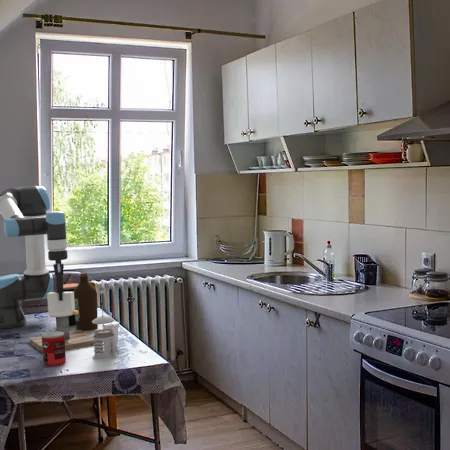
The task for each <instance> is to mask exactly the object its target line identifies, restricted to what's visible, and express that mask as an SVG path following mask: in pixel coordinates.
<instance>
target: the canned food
mask: <svg viewBox="0 0 450 450" xmlns="http://www.w3.org/2000/svg"><path fill="white" fill-rule="evenodd" d="M41 336H42V349H43V352H42V359H43V360H42V361H43V362H42V363H43V365H44V366H45V367H58V366H62V365H65V364H66V361H67V359H66V358H67V356H66V355H67V353H66V350H65V337H64V332H60V331H57V330H55V331H48V332H44V333H42V334H41Z"/></svg>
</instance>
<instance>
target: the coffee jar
mask: <svg viewBox="0 0 450 450" xmlns="http://www.w3.org/2000/svg"><path fill="white" fill-rule="evenodd" d="M78 284H79V283H66V284H64V283H63V287H65V289H64V292H74V289H75V288H76V287H77V285H78ZM68 318H69V327H73V326H76V320H75V314H73V315H70V316H68Z"/></svg>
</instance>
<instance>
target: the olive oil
mask: <svg viewBox="0 0 450 450" xmlns="http://www.w3.org/2000/svg"><path fill="white" fill-rule="evenodd" d="M88 276H89V275H88V272H81V273H79V279H80V282H79V283H77V284H78V285H77V287H76V288H75V289H74V302H75V310H78V314H75V320H76V325H75V329H76V330H82V331H84V332H87V331H93V330H96V329H97V330H98V327H99V324H93V323H92V321H93V320H94V319H96V318H98V292H97V291H98V290H97V289H96V287H95V286H94V285H93V284H91V282H90V281H89V277H88Z"/></svg>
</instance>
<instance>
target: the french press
mask: <svg viewBox="0 0 450 450" xmlns="http://www.w3.org/2000/svg"><path fill="white" fill-rule="evenodd" d="M98 294H99V295H100V296H101V297H100V299H101V300H100V301H101V302H103V295H104V294H105V291H104V290H99V291H98ZM103 309H104V308H103V306H101V312H102V313H101V314H102V315H101V316H97V318H96V319H94V320H93V321H92V323H93V324H98V325H102V329H101V328H100V329H97V330H96V329H95V331H94V332H93V333H94V335H92V336H93V339H94V342H95V343H94V345H93V346H94V347H93V351H94V355H93V356H92V357H91V359H92V360H94V361H97V362H99V361H100V362H103V361H111V360H114V359H116V358H118V357H119V354H118V353H117V351H116V348H115V344H116V343H115V335H114V332H113V330H112V328H111V327H110V326H108V329H104V324H107V323H111V322H115V319H114V318H113V317H112V318H111V317H109V316H105V315H104V311H103ZM112 326H113V325H112ZM109 327H110V328H111V329H109ZM113 327H114V328H115V326H113ZM115 329H116V328H115ZM112 332H113V333H112ZM116 332H117V330H116ZM110 337H112V338H111V339H110ZM111 340H112V342H110V341H111ZM117 340H119V332H118V333H117ZM116 342H117V341H116ZM117 343H118V342H117ZM110 344H111V345H110ZM111 347H112V349H111Z"/></svg>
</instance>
